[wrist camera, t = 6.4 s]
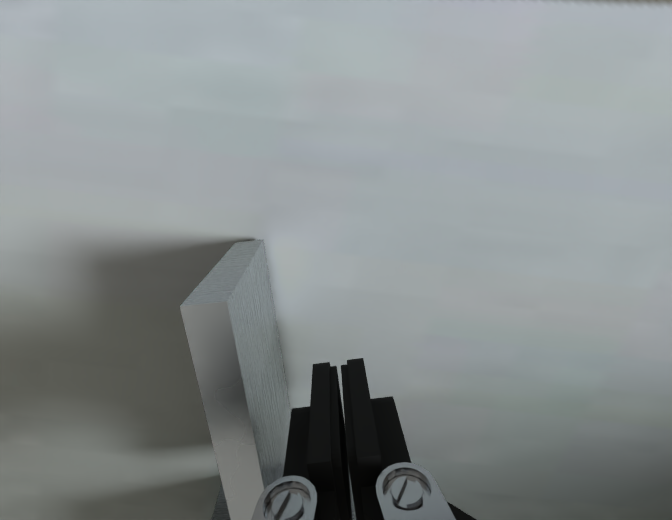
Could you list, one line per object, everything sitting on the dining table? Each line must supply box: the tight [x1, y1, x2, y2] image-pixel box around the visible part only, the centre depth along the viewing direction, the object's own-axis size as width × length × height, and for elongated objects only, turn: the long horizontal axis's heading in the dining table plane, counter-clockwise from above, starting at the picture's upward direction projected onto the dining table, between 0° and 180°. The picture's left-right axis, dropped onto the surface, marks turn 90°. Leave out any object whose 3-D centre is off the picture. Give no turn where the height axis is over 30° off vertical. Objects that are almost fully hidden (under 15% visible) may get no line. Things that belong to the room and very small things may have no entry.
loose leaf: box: [180, 240, 291, 520], centre depth 12 cm, size 1×9×6 cm, turn 5°
